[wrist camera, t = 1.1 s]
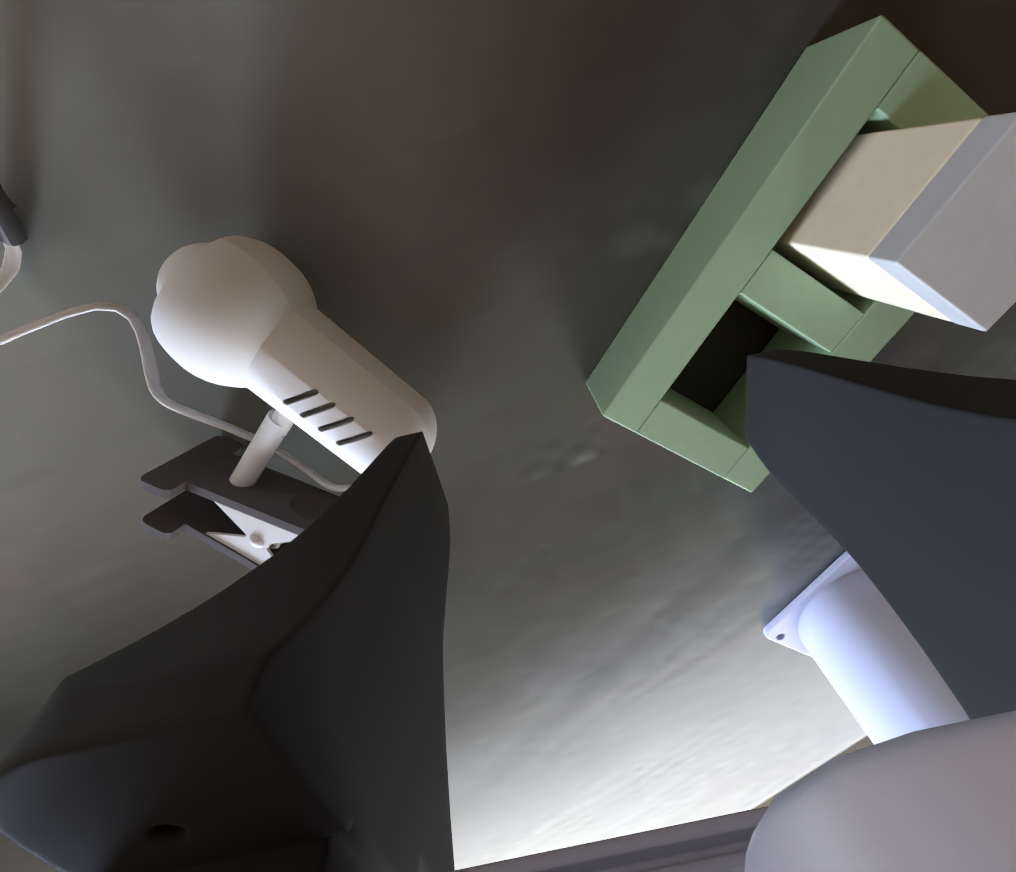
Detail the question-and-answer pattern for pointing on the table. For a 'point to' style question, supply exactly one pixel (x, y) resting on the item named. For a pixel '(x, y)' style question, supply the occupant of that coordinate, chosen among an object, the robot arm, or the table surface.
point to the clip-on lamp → (266, 372)
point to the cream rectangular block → (918, 220)
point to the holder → (770, 246)
